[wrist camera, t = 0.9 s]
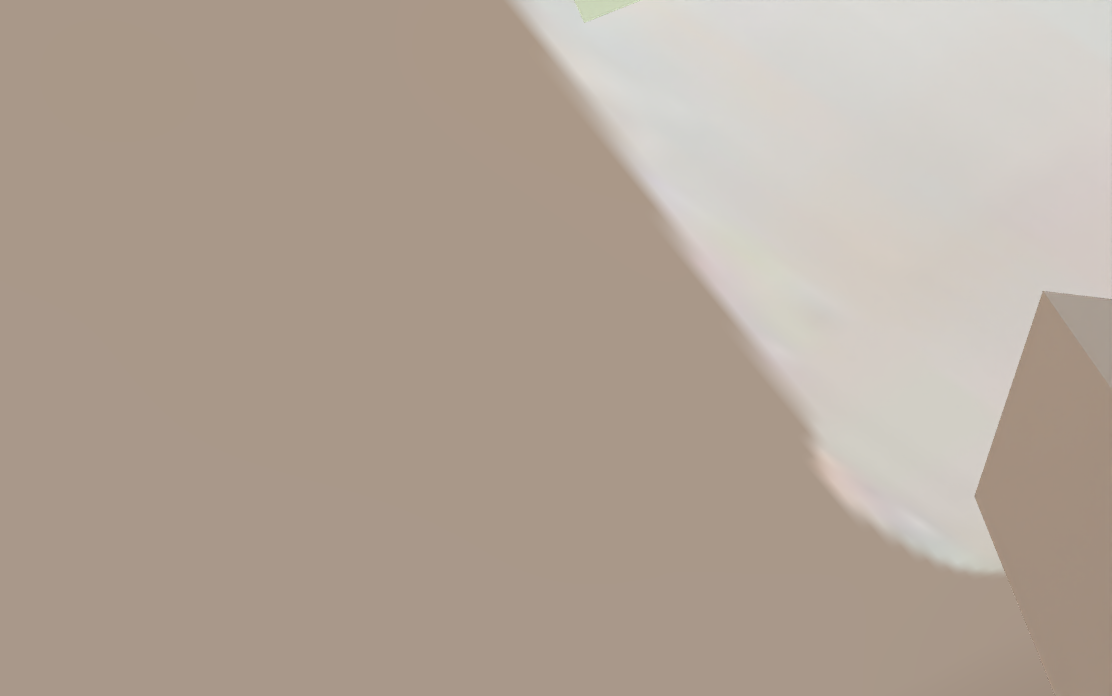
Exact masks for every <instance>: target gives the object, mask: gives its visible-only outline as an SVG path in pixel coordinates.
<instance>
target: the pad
mask: <svg viewBox="0 0 1112 696" xmlns="http://www.w3.org/2000/svg"><path fill="white" fill-rule="evenodd" d="M574 1H575V3H576V5H577V7H578V10H579V12H580V14H581V16H582V19H583V21H584V23H585V22H588V21H590V20H593V19H595V18H598V17H600V16H603V15H605V14H608V13H610V12H613V11H615V10H618V9H620V8H623V7H625V6H628V5H630V4H633V3H635V2H638V1H640V0H574Z"/></svg>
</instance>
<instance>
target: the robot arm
mask: <svg viewBox="0 0 1112 696" xmlns="http://www.w3.org/2000/svg"><path fill="white" fill-rule="evenodd" d="M975 499H976V501H977V504H978V506H979V509H980V511H981V514H982V516H983V519H984V521H985V524H986V526H987V529H988V531H989V534H990V536H991V539H992V541H993V543H994V546H995V548H996V551H997V553H998V556H999V558H1000V561H1001V563H1002V566H1003V568H1004V571H1005V573H1006V576H1007V578H1008V581H1009V583H1010V586H1011V588H1012V590H1013V593H1014V595H1015V598H1016V601H1017V603H1018V605H1019V608H1020V611H1021V613H1022V616H1023V618H1024V620H1025V623H1026V625H1027V628H1028V630H1029V633H1030V635H1031V638H1032V640H1033V643H1034V645H1035V648H1036V650H1037V653H1038V655H1039V658H1040V660H1041V663H1042V665H1043V668H1044V670H1045V673H1046V675H1047V678H1048V680H1049V683H1050V685H1051V688H1052V690H1053V693H1054V695H1055V696H1112V299H1106V298H1097V297H1089V296H1080V295H1072V294H1064V293H1055V292H1047V291H1043V293H1042V296H1041V299H1040V302H1039V305H1038V308H1037V311H1036V314H1035V317H1034V320H1033V323H1032V326H1031V329H1030V332H1029V334H1028V337H1027V340H1026V343H1025V346H1024V349H1023V352H1022V355H1021V358H1020V361H1019V364H1018V367H1017V370H1016V373H1015V376H1014V379H1013V382H1012V385H1011V388H1010V391H1009V394H1008V397H1007V400H1006V403H1005V406H1004V409H1003V412H1002V415H1001V418H1000V421H999V424H998V427H997V430H996V433H995V436H994V439H993V442H992V445H991V448H990V451H989V454H988V457H987V460H986V463H985V466H984V469H983V472H982V475H981V478H980V481H979V484H978V487H977V490H976V493H975Z"/></svg>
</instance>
